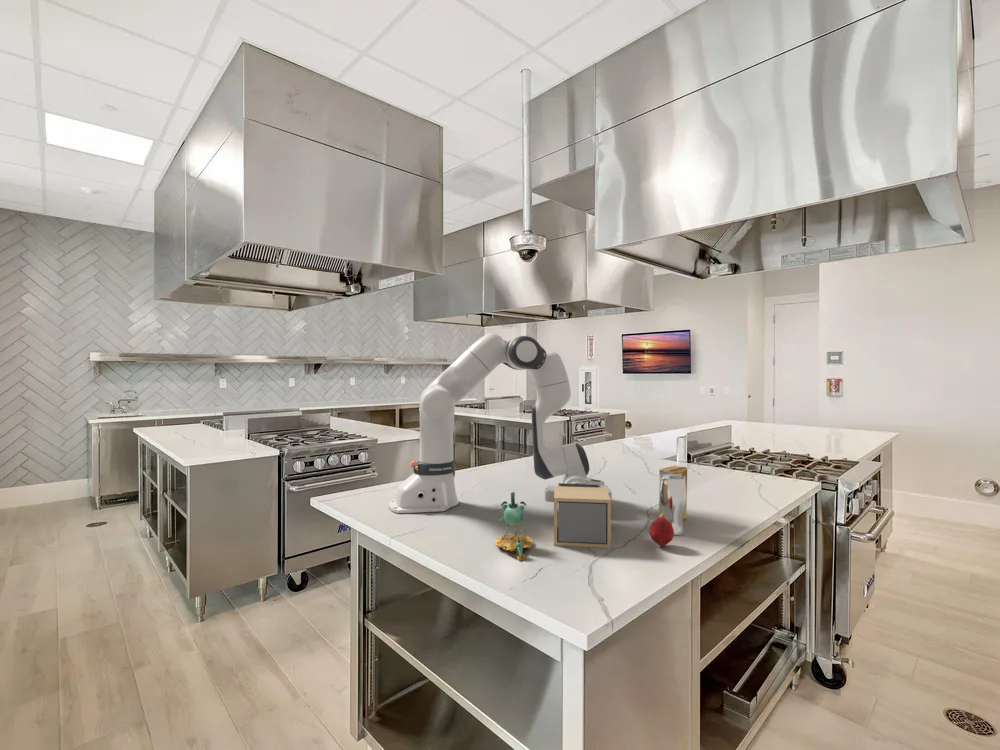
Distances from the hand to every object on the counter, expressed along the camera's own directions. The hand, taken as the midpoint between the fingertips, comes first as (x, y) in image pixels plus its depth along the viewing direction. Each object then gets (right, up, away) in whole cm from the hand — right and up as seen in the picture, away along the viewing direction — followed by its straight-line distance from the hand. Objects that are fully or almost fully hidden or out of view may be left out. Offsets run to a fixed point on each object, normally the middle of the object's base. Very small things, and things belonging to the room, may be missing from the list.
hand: (578, 501), depth 138 cm
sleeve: (-2, -6, -14) cm, 16 cm away
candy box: (+28, -6, +1) cm, 28 cm away
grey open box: (-1, -5, -10) cm, 11 cm away
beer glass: (+24, -6, -9) cm, 26 cm away
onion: (+17, -6, -20) cm, 27 cm away
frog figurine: (-20, -6, -20) cm, 29 cm away
